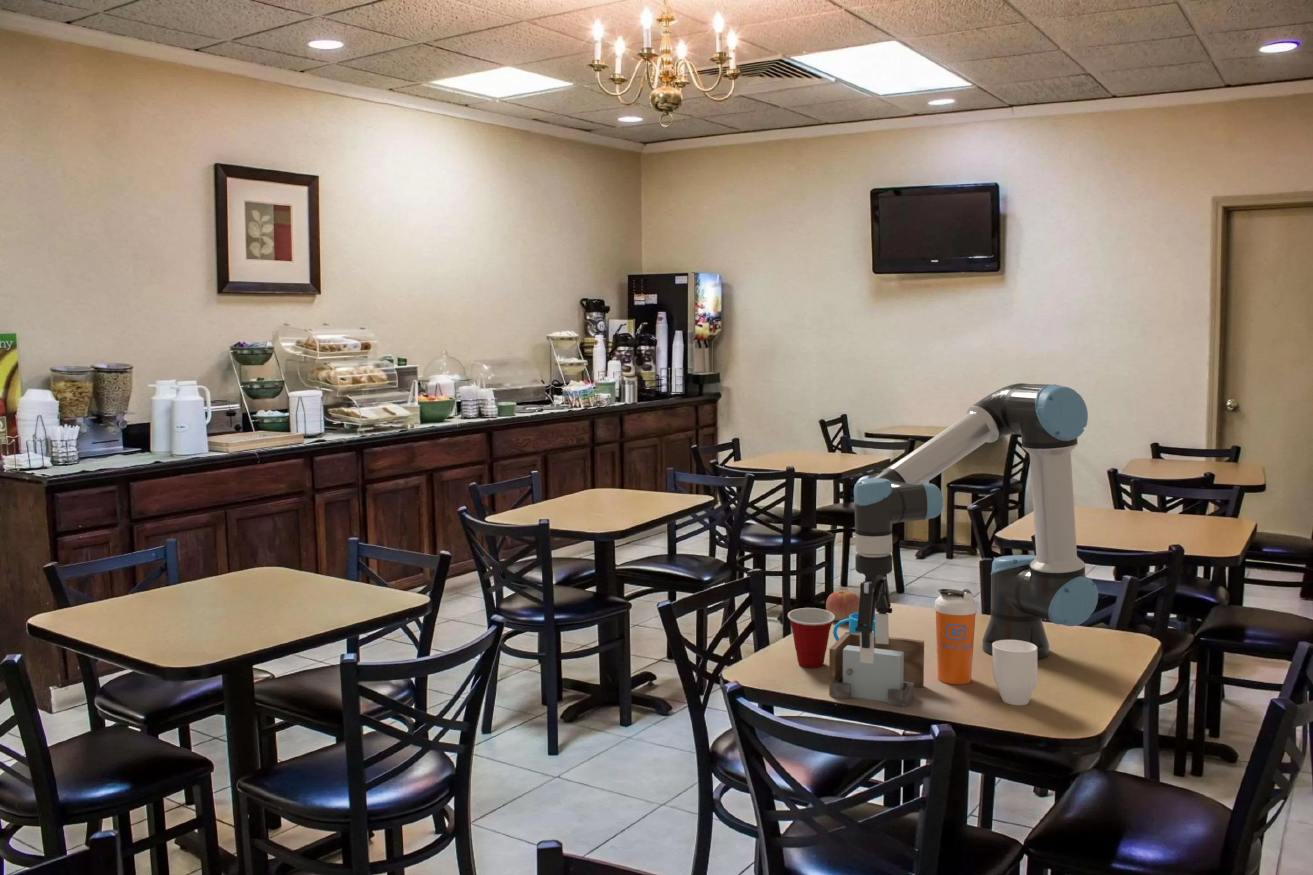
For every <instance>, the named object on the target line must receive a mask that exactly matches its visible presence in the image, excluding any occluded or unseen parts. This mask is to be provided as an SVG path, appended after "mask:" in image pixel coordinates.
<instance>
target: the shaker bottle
mask: <svg viewBox="0 0 1313 875" xmlns="http://www.w3.org/2000/svg"><path fill="white" fill-rule="evenodd" d="M937 591H938V593H939V596H938V597H937V598H936V599H935V601H934V611H935V631H936V635H935V636H936V660H937V663H936V664H937V679H938V680H939V681H940V682H942V683H945V684H949V685H966V684H969V683H970V682H971V681H972V673H973V672H972V671H973V668H972V667H973V656H974V654H973V653H974V640H975V627H976V626H975V625H976V615H977V612H978V611H977V607H978V604H977V602H976V600H975V599H974V596H973V593H972V591H971V590H970V589H968V588H964V589H963V590H959V589H952V588H939V589H937Z"/></svg>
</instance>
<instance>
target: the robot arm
mask: <svg viewBox="0 0 1313 875" xmlns="http://www.w3.org/2000/svg"><path fill="white" fill-rule="evenodd" d="M1088 415H1089V414H1088V408H1087V404H1086V402H1085V400H1084V398H1083V397H1082V395H1081V394H1079V393H1078V392H1077V391H1076V390H1075V389H1074V388H1071V387H1069V386H1063V385H1059V384H1044V383H1043V384H1041V383H1040V384H1039V383H1023V382H1022V383H1018V382H1017V383H1014V384H1010V385H1007V386H1005V387H1004V386H1003V387H1002V388H1000V389H998V390H996V391H994V392H992V393H990V394H987V396H985V397H983V398H982V399H981V400H980V399H979V401H977V402H976V403H974V404H973V405H971V406H969V408H967V411H966V415H964V416H963V417H962V418H960V419H959V420H957V421H956V422H954V423H953V424H951V425H949V426H948V427H947V428H945V429H944V430H943V431H941V432H940V433H937V434H936V435H935V436H933V437H932V438H930V439H929V440H927V441H926V442H925V443H923V444H922V445H920V446H919V447H917V448H916V449H914V450H913V451H911V452H910V453H908V454H906V455H905V456H904V457H903V458H900V460H898V461H897V462H895V463H894V464H892V465H890V466H889V467H887V468H886V469H884V470H883V471H881V472H880V473H878V474H877V475H874V474H873V475H872V474H871V475H864V476H862V477H860V478H859V479H858V480H857V481H856V483H855V485H854V487H853V498H854V500H853V502H854V532H855V534H854V535H855V536H853V537H852V540H853V542H855V545H854V546H855V547H854V548H855V552H856V554H855V562H854V564H855V568H854V569H855V571H856V573H859V574H862V575H864V581H862V582H860V585H859V588H860V592H859V601H860V602H859V612H858V622H857V627H856V628H855V631H856V632H860V662H863V663H872V664H873V663H874V631H872V630H873V629H872V628H873V622H874V615H875V643H878V644H889V637H890V636H889V634H890V632H889V628H890V627H889V614H892V613H893V608H892V604H891V597H890V591H889V584H888V583H889V582H888V574H891V573H892V572H893V555H892V554H891V553H892V552H893V524H897V523H904V522H905V523H906V522H907V523H908V522H913V521H914V522H915V521H926V520H931V519H935V518H937V517H939V516H940V514H941V513H942V511H943V507H944V498H943V493H942V492H941V489H940V488H939V487H938V486H937V485H936V484H934V483H928V482H930V481H931V480H933V479H934V478H936V477H937V476H939V475H940V474H941V473H942V472H944V471H946V470H947V469H948V468H950V467H952V466H953V465H954V464H956V463H957V462H959V461H960V460H962V459H963V458H964V457H966V456H968V455H969V454H971V453H972V452H973V451H975V450H977V449H978V448H979V447H981V446H982V445H984V444H985V443H989V444H990V443H995V442H996V441H997V440H999V439H1000V438H1003V437H1007V436H1008V435H1009V436H1010V435H1021V437H1020V438H1021V448H1022V449H1023V450H1024V451H1026V452H1027V453H1028V454H1029V463H1030V464H1029V465H1030V479H1031V480H1030V481H1031V493H1032V509H1033V510H1032V512H1033V524H1034V539H1035V555H1031V554H1018V555H1017V554H1016V555H1002V556H998V557H996V558H994V559H993V561H992V563H991V572H990V617H989V620H988V624H987V627H986V630H985V631H984V634H983V635H984V636H983V637H982V646H981V647H982V648H981V649H982V650H983V651H984V652H985V653H986V654H989V655H991V656H992V643H993V642H995V641H999V640H1019V641H1025V642H1029V643H1032V644H1034V645H1036V646H1037V660H1041V659H1044V658H1046V657H1048V656H1049V654H1050V642H1049V640H1048V637H1047V634H1046V631H1045V627H1044V624H1043V620H1046V621H1048V622H1052V623H1053V624H1054V625H1062V626H1065V627H1077V626H1079V625H1081V624H1083V623H1084V622H1086V621H1088V619H1089V618H1090V617H1091V615H1092V614H1093V613H1094V611H1095V610H1096V607H1097V605H1098V600H1099V591H1098V587H1097V585H1096V583H1095V582H1093V580H1092V579H1091V578H1089V577H1087V576H1086V566H1085V562H1084V561H1083V560H1082V559H1081V558H1080V557H1079V556H1078V553H1077V552H1078V551H1077V534H1076V532H1077V531H1076V519H1075V518H1076V517H1075V515H1076V514H1075V501H1074V500H1075V498H1074V484H1073V466H1072V451H1073V450H1074V449H1075V448H1076V447H1077V446H1078V445H1079V444H1078V438H1079V437H1080V436H1081V435H1082V434H1083V433H1084V432H1085V429H1084V428H1086V427H1087V425H1088V421H1089V420H1088V419H1089V418H1088V417H1089V416H1088ZM863 625H867V626H863Z"/></svg>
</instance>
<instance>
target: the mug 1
mask: <svg viewBox="0 0 1313 875" xmlns="http://www.w3.org/2000/svg"><path fill="white" fill-rule="evenodd" d="M857 622H858V613H854V614H851V615H849V619H844V620H841V621H837V623H836V624H835V625H834V627H833V630H832V635H833V639H834V640H835V641H836V642H837V641H838V640H839V639H840V637H839V636H838V630H839V627H840V626H841V625H843V624H845V623H848V632H849V633H858V634H860V632H856V631H855V628H856V627H857ZM863 626H867V625H863ZM872 629H873V630H872V631H874V635H875V615H874V622H873V628H872Z"/></svg>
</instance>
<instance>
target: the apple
mask: <svg viewBox="0 0 1313 875" xmlns="http://www.w3.org/2000/svg"><path fill="white" fill-rule="evenodd" d="M859 602H860V597H858V595H857V594H856V593H855V591H852V590H837V591H834V592H832V593H831V594H829V596H828V597H827V599H826V602H825V610H827V611H829V612H832V613H833V614H834V615H835V619H834V621H836V622H840V621H841V620H844V619H849V615H851V614H854V613H858V612H859Z"/></svg>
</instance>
